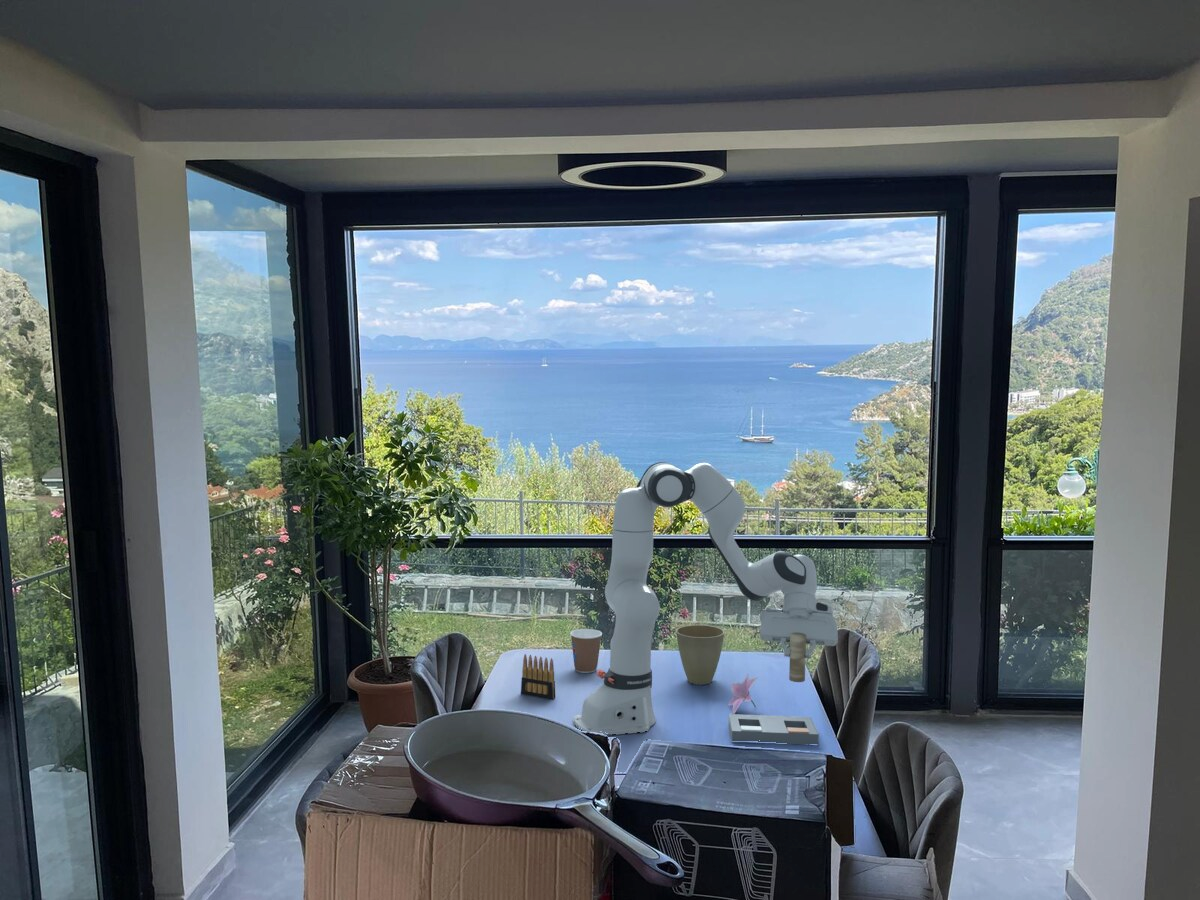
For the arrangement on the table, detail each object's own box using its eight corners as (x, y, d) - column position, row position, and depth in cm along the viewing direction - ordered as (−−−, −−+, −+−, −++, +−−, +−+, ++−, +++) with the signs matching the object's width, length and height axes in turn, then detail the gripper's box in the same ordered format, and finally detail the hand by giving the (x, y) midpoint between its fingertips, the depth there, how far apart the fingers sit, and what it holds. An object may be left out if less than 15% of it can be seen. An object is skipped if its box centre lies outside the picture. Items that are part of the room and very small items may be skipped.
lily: (733, 702, 262) (720, 676, 260) (770, 691, 258) (757, 665, 256) (731, 728, 251) (717, 702, 249) (770, 718, 247) (756, 690, 245)
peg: (795, 683, 230) (796, 637, 230) (786, 678, 234) (787, 633, 233) (808, 681, 232) (809, 635, 231) (798, 676, 236) (799, 631, 235)
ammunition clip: (520, 694, 263) (520, 654, 263) (523, 692, 265) (524, 652, 264) (552, 699, 259) (553, 659, 258) (555, 697, 261) (555, 657, 260)
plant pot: (710, 671, 287) (711, 623, 286) (731, 686, 273) (732, 635, 271) (667, 675, 282) (668, 626, 281) (686, 691, 268) (687, 639, 267)
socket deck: (731, 742, 229) (732, 729, 229) (728, 724, 241) (728, 712, 241) (818, 745, 228) (818, 732, 227) (810, 728, 240) (811, 715, 239)
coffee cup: (572, 663, 293) (573, 628, 292) (603, 665, 291) (604, 629, 291) (567, 673, 283) (567, 636, 282) (599, 675, 281) (599, 638, 280)
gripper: (760, 601, 241) (756, 647, 232) (838, 606, 236) (837, 653, 227) (760, 614, 246) (757, 659, 237) (837, 619, 241) (837, 665, 232)
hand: (797, 656), depth 232 cm, fingers closed on peg, 4 cm apart
